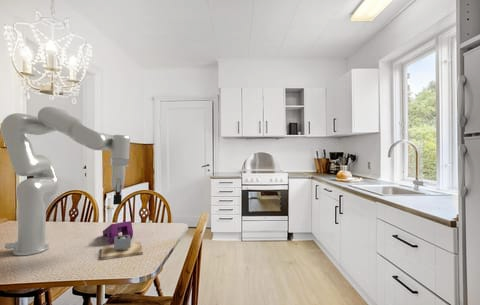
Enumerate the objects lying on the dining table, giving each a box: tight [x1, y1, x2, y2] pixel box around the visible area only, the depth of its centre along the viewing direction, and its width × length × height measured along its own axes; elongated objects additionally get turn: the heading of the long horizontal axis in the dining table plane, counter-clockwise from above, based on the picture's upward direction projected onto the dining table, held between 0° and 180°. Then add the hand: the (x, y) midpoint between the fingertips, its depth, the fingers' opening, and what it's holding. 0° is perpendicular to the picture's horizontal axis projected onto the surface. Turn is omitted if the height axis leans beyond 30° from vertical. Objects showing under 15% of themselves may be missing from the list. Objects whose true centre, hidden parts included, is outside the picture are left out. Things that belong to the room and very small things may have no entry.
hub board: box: [100, 237, 144, 261], centre depth 117 cm, size 16×14×6 cm
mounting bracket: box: [102, 220, 134, 245], centre depth 135 cm, size 9×8×18 cm
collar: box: [113, 234, 132, 250], centre depth 117 cm, size 6×6×4 cm
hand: (117, 204), depth 118 cm, fingers closed
